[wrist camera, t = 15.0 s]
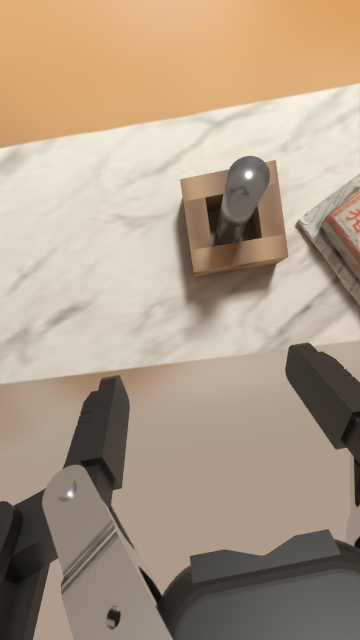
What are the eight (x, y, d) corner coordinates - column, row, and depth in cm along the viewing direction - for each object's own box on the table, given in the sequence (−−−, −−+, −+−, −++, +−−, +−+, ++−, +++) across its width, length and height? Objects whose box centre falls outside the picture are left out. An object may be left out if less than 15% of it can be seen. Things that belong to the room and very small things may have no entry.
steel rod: (218, 245, 30) (230, 202, 18) (214, 220, 30) (224, 160, 18) (243, 241, 30) (272, 194, 18) (240, 215, 30) (267, 152, 18)
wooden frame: (194, 277, 31) (193, 272, 27) (182, 196, 30) (180, 179, 26) (276, 263, 30) (288, 256, 26) (265, 180, 29) (275, 160, 25)
